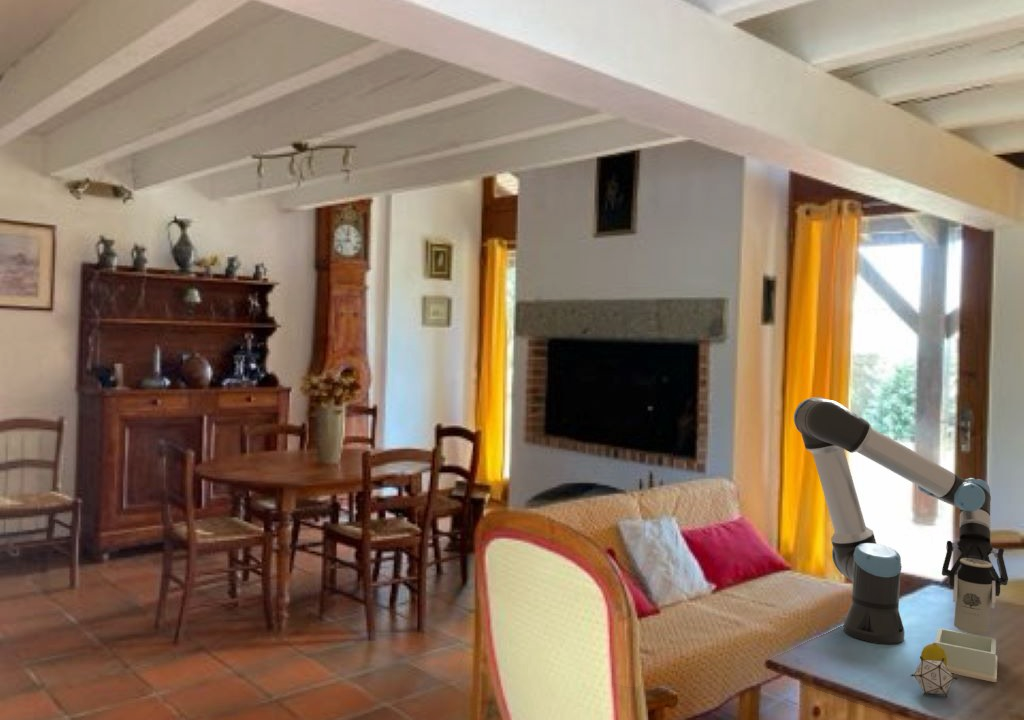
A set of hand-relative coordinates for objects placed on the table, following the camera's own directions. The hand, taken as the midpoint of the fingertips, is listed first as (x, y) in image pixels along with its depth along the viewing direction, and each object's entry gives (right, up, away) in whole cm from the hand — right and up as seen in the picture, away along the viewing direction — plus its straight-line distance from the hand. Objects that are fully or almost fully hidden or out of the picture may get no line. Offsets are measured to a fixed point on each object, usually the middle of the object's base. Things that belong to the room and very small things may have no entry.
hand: (974, 602), depth 218 cm
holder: (-7, -13, -9) cm, 17 cm away
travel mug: (+1, -8, +3) cm, 9 cm away
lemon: (-20, -13, -18) cm, 30 cm away
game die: (-25, -13, -29) cm, 40 cm away
